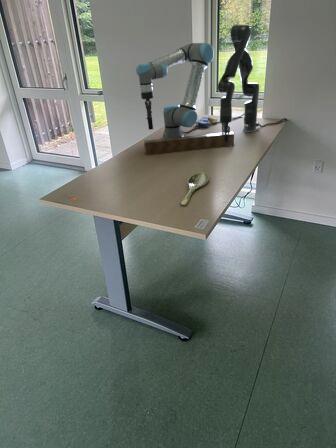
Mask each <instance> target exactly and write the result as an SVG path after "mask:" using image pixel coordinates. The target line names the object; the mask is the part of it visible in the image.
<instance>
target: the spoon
mask: <svg viewBox="0 0 336 448" xmlns="http://www.w3.org/2000/svg"><path fill="white" fill-rule="evenodd" d="M209 180H210V176H209V174H208V173H206V172H203V171H200V172H199V171H198V172H195V173H194V174H192V175H191V176H189V178H188V180H187V185H188V187H189V188H188V189H189V190H188V192H187V193H186V195H185V196H184V197H183V198H182V200H181V202H180V206H183V207H185V206H187V205H188V203H189V201H190V199H191V197H192V195H193V193H194V191H196V190H197V189H199V188H201V187H203V186H205V185H206V184H207V183H208V182H209Z"/></svg>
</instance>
